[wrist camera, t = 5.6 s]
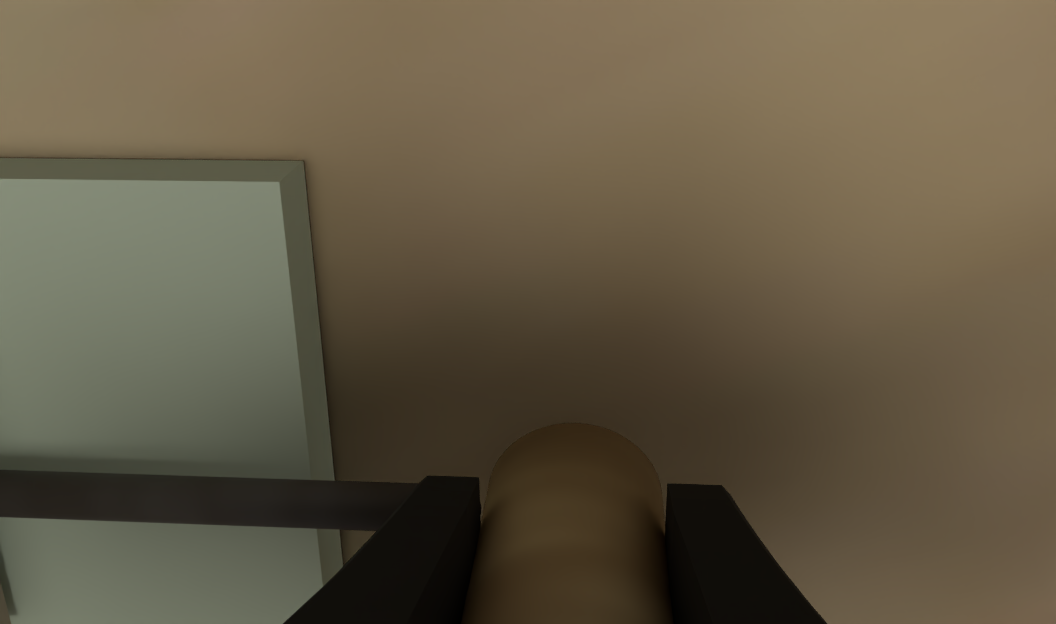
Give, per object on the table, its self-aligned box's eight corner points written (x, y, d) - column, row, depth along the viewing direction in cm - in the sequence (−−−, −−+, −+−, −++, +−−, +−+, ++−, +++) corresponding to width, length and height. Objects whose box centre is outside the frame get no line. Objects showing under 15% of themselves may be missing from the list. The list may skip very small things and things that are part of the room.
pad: (303, 160, 12) (278, 181, 12) (352, 663, 16) (336, 711, 15) (-367, 154, 13) (-441, 174, 12) (-193, 637, 16) (-241, 682, 15)
